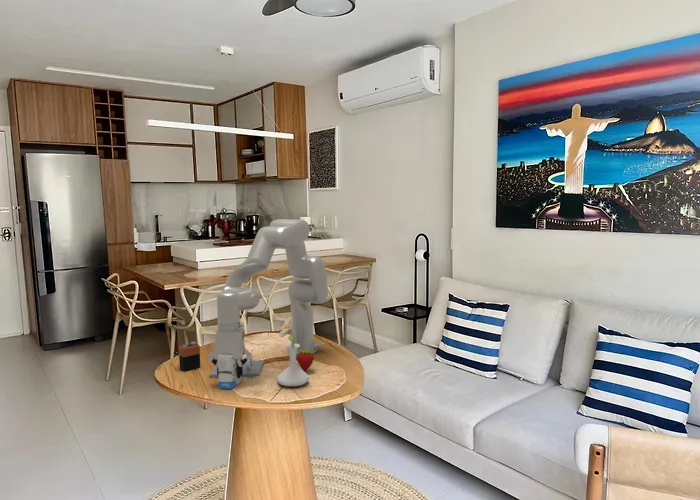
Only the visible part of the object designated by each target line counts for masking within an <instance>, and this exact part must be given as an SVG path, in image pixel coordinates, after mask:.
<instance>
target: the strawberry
mask: <svg viewBox="0 0 700 500" xmlns="http://www.w3.org/2000/svg"><path fill="white" fill-rule="evenodd" d="M310 351H313V350H308V351H307V350H306V349H305V350H301V351H299V352H300V353H298V355H296V362H297V363H298V365H299V368H300V369H301V370H303V371H304V372H305V373H307V371H308V370H309V369H310V368H311V366H312V364H313V362H314V354H311V352H310Z"/></svg>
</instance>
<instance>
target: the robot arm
mask: <svg viewBox="0 0 700 500" xmlns="http://www.w3.org/2000/svg"><path fill="white" fill-rule="evenodd" d="M310 231H311V229H310V225H309V222H308V221H306V220H304V219H297V218H296V219H293V218H291V219H289V218H280V219H279V218H278V219H274V220H272V221H271V222H270V223H269V226H263V227H261V228H260V229H259V230H258V231H257V233H256V235H255V238H254V239H253V243H252V245H251V247H250V250H249V253H247V254H248V255H247V257H246V259H245V260H244V261H243V262H242V263H240V264H239V265H238V266H237V267H236V268H235V269H234V270H233V271H232V272H231V273H230V274H229V275H228V277H227V279H226V281H225V283H224V285H223V289H222V291H221V292H219V293H218V294H217V295H216V305H217V306H216V308H217V330H216V331H215V335H214V336H215V337H214V348H213V350H212V351H211V352H210V353H208V354H207V356H206V357H207V359H208V360H209V361H210V362H211V363H212V364H213V365H214V367H215V366H216V367H217V375H218V376H219V370H218V356H219V354H221V355H234V359H236V360H237V362H238V368H237V369H238V378H240V377H241V375H242V374H243V365H244V364H245V363H246V362H247V361H248V360H249V359H250V358H251V356H252V357H253V355H252V353H251V352H250V351H249V350H248V349H246V347H245V345H246V344H245V336H244V331H243V329H242V328H244V327H245V323H243V322H241V320H240V319H241V317H240V311H246V310H247V311H248V310H253V309H255V308H256V307H258V305H259V303H260V300H261V299H260V294H259V293H258V291H256V290H255V289H253V288H245V287H241V286H242V285H243V283H244V282H245V281H246V280H248V279H250V277H253V276H254V275H257V274H261V273H262V272H264V271H266V270H267V269H268V268H269V266H270V263H271V261H272V258H273V255H274V253H275V250H276V249H277V250H278V249H281V250H285V255H286V261H287V262H286V263H287V268H288V272H289V274H290V276H292V277H294V278H297V279H294V280H292V281H290V283H289V285H288V289H287V292H288V299H289V303H290V317H291V316H292V319H293V320H292V325H291V328H290V329H291V331H292V333H293V335H294V338H295V342H294V344H299V345H300V346H299V348H298V350H297V353H296V356H297V355H298V353H300V352H299V351H301V350H305V349H306V350H307V351H308V350H313V351H310V352H311V354H312V355H314V354H316V353H317V352H318V348H321V349H324V347H325V345H324V342H320V341H319V342H317V341H315V339H314V309H313V307H312V305H311V303H312V304H322V303H324V302H326V300H327V298H328V296H329V295H328V294H329V288H328V279H327V271H326V265H325V262H324V260H323V259H322V257H319V256H315V255H309V254H308V253H307V247H306V243H305V240H307V239H308V237H309V235H310ZM291 331H290V334H291V335H292V333H291ZM290 344H292V342H291V341H290ZM287 353H288V354H289V352H288V351H287ZM244 356H245V357H244ZM243 357H244V358H243ZM242 358H243V360H242ZM241 378H242V377H241Z"/></svg>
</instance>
